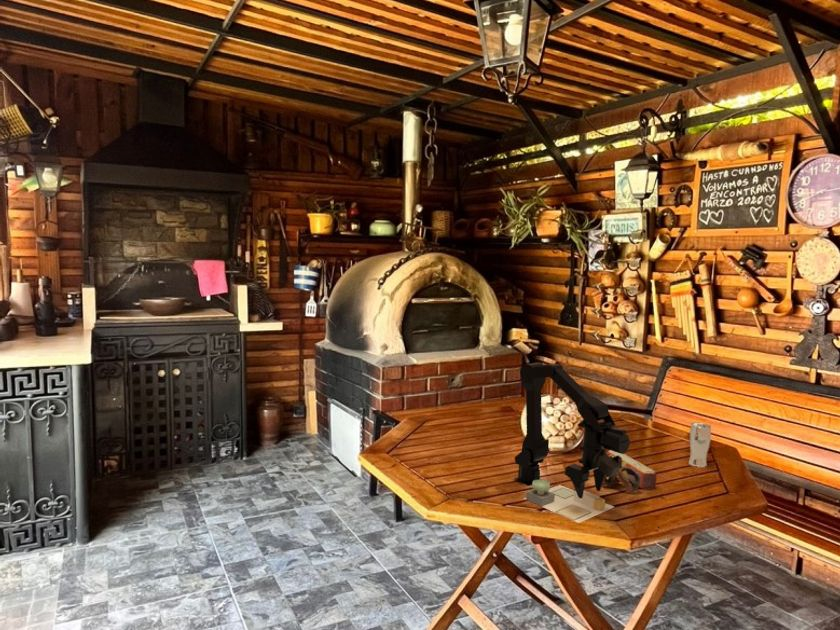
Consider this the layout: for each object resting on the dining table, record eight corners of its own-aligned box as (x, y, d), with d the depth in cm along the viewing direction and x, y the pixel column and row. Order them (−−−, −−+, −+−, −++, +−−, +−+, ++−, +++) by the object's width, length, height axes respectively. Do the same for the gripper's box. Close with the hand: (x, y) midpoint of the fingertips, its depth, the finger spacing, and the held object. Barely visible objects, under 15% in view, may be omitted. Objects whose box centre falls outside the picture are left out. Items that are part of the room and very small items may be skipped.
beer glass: (684, 464, 215) (687, 424, 214) (690, 459, 221) (694, 421, 219) (704, 469, 211) (708, 429, 209) (710, 464, 216) (714, 425, 214)
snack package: (658, 489, 192) (659, 469, 191) (640, 491, 190) (642, 471, 189) (618, 466, 212) (619, 448, 211) (602, 467, 210) (603, 449, 209)
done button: (528, 496, 178) (528, 482, 177) (539, 492, 181) (539, 478, 181) (541, 502, 174) (542, 487, 173) (552, 498, 177) (553, 483, 177)
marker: (573, 500, 179) (574, 491, 178) (579, 498, 180) (579, 488, 180) (599, 511, 172) (599, 501, 171) (604, 508, 174) (605, 498, 173)
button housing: (525, 501, 178) (526, 491, 178) (538, 496, 182) (539, 487, 182) (541, 508, 174) (542, 498, 173) (554, 503, 177) (554, 493, 177)
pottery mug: (624, 483, 197) (637, 466, 193) (633, 506, 189) (647, 489, 185) (592, 475, 194) (605, 458, 190) (600, 498, 186) (613, 481, 182)
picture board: (523, 500, 179) (523, 498, 179) (559, 486, 190) (559, 484, 190) (578, 525, 164) (578, 522, 164) (614, 508, 175) (614, 506, 175)
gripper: (598, 458, 162) (594, 512, 164) (634, 445, 174) (630, 496, 176) (565, 447, 170) (561, 498, 172) (601, 435, 182) (598, 483, 184)
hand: (589, 494), depth 176 cm, fingers open, 9 cm apart
